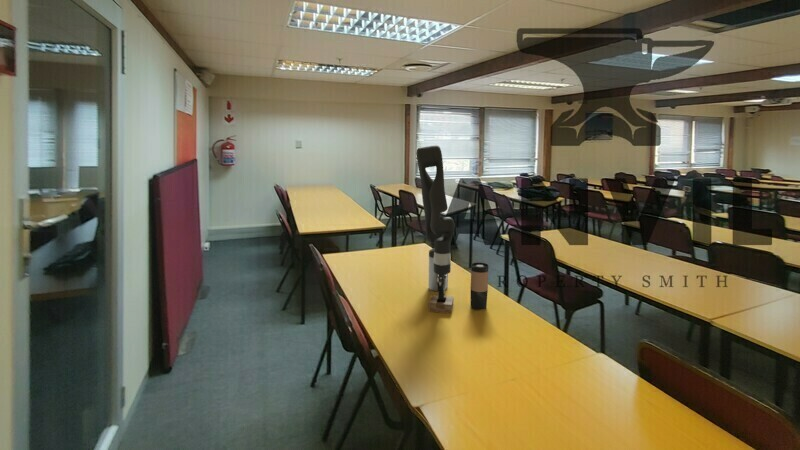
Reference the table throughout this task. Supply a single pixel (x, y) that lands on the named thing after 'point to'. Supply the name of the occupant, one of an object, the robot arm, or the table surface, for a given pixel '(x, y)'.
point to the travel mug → (479, 285)
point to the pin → (438, 296)
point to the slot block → (441, 304)
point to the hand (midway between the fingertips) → (441, 298)
